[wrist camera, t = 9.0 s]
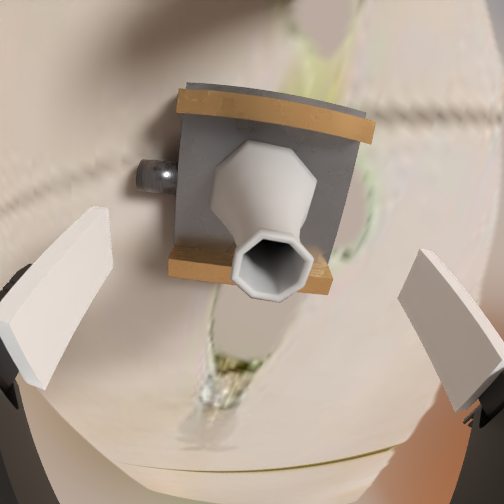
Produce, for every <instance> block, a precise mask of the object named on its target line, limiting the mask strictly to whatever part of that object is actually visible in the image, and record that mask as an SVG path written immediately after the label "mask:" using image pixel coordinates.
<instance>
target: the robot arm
mask: <svg viewBox="0 0 504 504" xmlns="http://www.w3.org/2000/svg"><path fill="white" fill-rule="evenodd" d="M113 267H114V266H113V257H112V248H111V238H110V226H109V212H108V208H105V207H94V206H92V207H91V208H89V209H88V210H87V211H86V212H85V213H84V214H83V215H82V216H81V217H80V218H78V219H77V220H76V221H75V222H74V223H73V224H72V225H71V226H70V227H69V228H68V229H67V230H66V231H65V232H64V233H63V234H62V235H61V236H60V237H59V238H58V239H57V240H56V241H55V242H54V243H53V244H52V245H51V246H50V247H49V248H48V249H47V250H46V251H45V252H44V253H43V254H42V255H41V256H40V257H39V258H38V259H37V260H36V261H35V262H34V263H33V264H28V265H27V266H25V267H24V268H22V269H21V270H19V271H18V272H17V273H16V274H15V275H14V276H13V277H12V278H11V279H10V282H9V283H7V284H6V285H5V286H4V287H3V290H1V291H0V504H60V503H59V501H58V500H57V497H56V495H55V493H54V491H53V489H52V487H51V484H50V482H49V480H48V478H47V475H46V473H45V471H44V468H43V466H42V463H41V460H40V458H39V455H38V453H37V450H36V447H35V444H34V441H33V438H32V435H31V432H30V428H29V425H28V422H27V418H26V415H25V411H24V407H23V403H22V399H21V395H20V391H19V386H18V384H17V382H16V380H15V377H16V376H17V374H18V372H20V374H21V375H22V377H23V379H24V380H25V382H26V383H28V384H30V385H33V386H35V387H38V388H40V389H43V390H46V388H47V385H48V383H49V381H50V379H51V377H52V375H53V373H54V371H55V369H56V367H57V365H58V363H59V361H60V359H61V357H62V355H63V353H64V351H65V349H66V347H67V345H68V343H69V341H70V340H71V338H72V336H73V334H74V332H75V330H76V328H77V327H78V325H79V323H80V321H81V320H82V318H83V316H84V314H85V313H86V311H87V309H88V307H89V306H90V304H91V302H92V301H93V299H94V297H95V296H96V294H97V292H98V291H99V289H100V287H101V286H102V284H103V282H104V281H105V279H106V278H107V276H108V275H109V273H110V271H111V270H112V268H113ZM398 300H399V302H400V303H401V305H402V307H403V309H404V310H405V312H406V314H407V316H408V318H409V319H410V321H411V323H412V325H413V327H414V329H415V330H416V332H417V334H418V336H419V338H420V340H421V342H422V344H423V346H424V348H425V350H426V352H427V354H428V356H429V358H430V360H431V362H432V364H433V366H434V368H435V370H436V372H437V374H438V376H439V378H440V380H441V382H442V385H443V387H444V389H445V391H446V393H447V396H448V398H449V400H450V402H451V405H452V407H453V409H454V411H455V412H458V411H462V410H466V409H468V408H469V407H470V406H471V405H472V404H473V403H474V402H475V401H476V400H477V399H479V401H480V403H481V404H480V405H479V406H478V407H477V408H476V409H475V410H474V411H473V412H472V413H471V414H470V415H469V416H467V418H465V420H464V422H463V423H464V424H465V423H467V422H468V421H469V420H470V419H473V420H472V421H471V422H470V423H469V424H468V426H469V427H472V429H471V434H470V438H469V443H468V447H467V451H466V455H465V459H464V462H463V465H462V469H461V472H460V476H459V479H458V482H457V485H456V488H455V491H454V493H453V496H452V499H451V502H450V504H504V342H503V340H502V339H501V338H500V336H499V335H498V333H497V332H496V331H495V329H494V327H493V326H492V325H491V323H490V322H489V320H488V319H487V318H486V316H485V315H484V314H483V312H482V311H481V309H480V308H479V307H478V306H477V304H476V303H475V302H474V300H473V299H472V298H471V296H470V295H469V294H468V293H467V291H466V290H465V289H464V288H463V286H462V285H461V284H460V283H459V282H458V280H457V279H456V278H455V277H454V276H453V274H452V273H451V272H450V271H449V270H448V268H447V267H446V266H445V265H444V264H443V263H442V262H441V260H440V259H439V258H438V257H437V256H436V255H435V254H434V252H433V251H430V250H424V249H419V252H418V254H417V257H416V259H415V261H414V264H413V266H412V268H411V270H410V273H409V275H408V277H407V279H406V281H405V283H404V286H403V288H402V290H401V292H400V294H399V296H398Z"/></svg>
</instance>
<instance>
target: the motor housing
mask: <svg viewBox="0 0 504 504" xmlns="http://www.w3.org/2000/svg"><path fill="white" fill-rule="evenodd" d="M176 113H183V119H182V128H181V139H180V150H179V162H173V161H160V160H146V159H143V160H141V162H140V164H139V166H138V170H137V175H136V185H137V189H138V190H139V191H144V192H154V193H165V194H175V195H176V211H175V238H174V247H173V249H172V251H171V254H170V256H169V258H168V276H170V277H177V278H184V279H192V280H199V281H207V282H215V283H223V284H231V285H236V284H235V283H234V282H232V281H231V280H230V273H231V268H232V263H233V258H234V253H235V249H236V247H237V246H236V243H235V240H234V237H233V235H232V234H231V233H230V231H229V230H228V229H227V228H226V226H225V225H224V224H223V222H222V221H221V220H220V219H219V218H218V217H217V216H216V215H215V214H214V213H213V211H212V210H211V209H210V208H209V204H210V198H211V192H212V186H213V180H214V175H215V169H216V167H217V166H218V165H219V164H220V163H222V162H223V161H224V160H225V159H226V158H227V157H228V156H229V155H231V154H232V153H233V152H234V151H235V150H236V149H237V148H239V147H240V146H241V145H242V144H243V143H244V142H246V141H247V140H253V141H258V142H263V143H268V144H272V145H277V146H281V147H286V148H290V149H292V150H293V152H294V153H295V154H296V155H297V156H298V158H299V159H300V160H301V161H302V162H303V164H304V165H305V166H306V167H307V168H308V170H309V171H310V172H311V173H312V175H313V176H314V177H315V178H316V180H317V183H316V187H315V190H314V194H313V197H312V201H311V204H310V208H309V211H308V214H307V218H306V220H305V222H304V224H303V225H302V227H301V229H300V236H299V239H300V242H301V244H302V245H303V246H304V247H305V248H306V250H307V251H308V252H309V253H310V254H311V255H312V256H313V258H314V261H313V264H312V267H311V270H310V272H309V275H308V278H307V281H306V284H305V286H304V287H303V288H301V289H300V290H298V291H297V292H302V293H312V294H322V295H328V293H329V290H330V287H331V284H332V281H333V277H332V275H331V272H330V270H329V267H328V262H329V258H330V255H331V252H332V248H333V245H334V241H335V238H336V235H337V231H338V227H339V224H340V220H341V217H342V213H343V209H344V205H345V202H346V198H347V193H348V190H349V186H350V182H351V178H352V174H353V170H354V166H355V162H356V157H357V153H358V149H359V144H360V142H364V143H368V144H371V143H372V138H373V134H374V129H375V124H376V122H374V121H371V120H367V119H365V116H366V112H362V111H359V110H355V109H351V108H348V107H344V106H340V105H336V104H332V103H328V102H323V101H319V100H315V99H310V98H305V97H300V96H295V95H290V94H284V93H278V92H272V91H266V90H259V89H252V88H244V87H236V86H227V85H216V84H204V83H188V82H187V85H186V89H179V92H178V100H177V109H176Z"/></svg>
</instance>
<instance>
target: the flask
mask: <svg viewBox="0 0 504 504" xmlns="http://www.w3.org/2000/svg"><path fill="white" fill-rule="evenodd" d="M316 183H317V180H316V178H315V177H314V176H313V175H312V173H311V172H310V171H309V170H308V168H307V167H306V166H305V165H304V164H303V162H302V161H301V160H300V159H299V158H298V156H297V155H296V154H295V153H294V152H293V150H292V149H290V148H286V147H281V146H277V145H272V144H268V143H263V142H258V141H253V140H247V141H246V142H244V143H243V144H242V145H241V146H240V147H239V148H237V149H236V150H235V151H234V152H233V153H232V154H231V155H229V156H228V157H227V158H226V159H225V160H224V161H223V162H222V163H220V164H219V165H218V166H217V167H216V169H215V175H214V180H213V186H212V192H211V198H210V204H209V208H210V209H211V210H212V211H213V213H214V214H215V215H216V216H217V217H218V218H219V219H220V220H221V221H222V222H223V224H224V225H225V226H226V228H227V229H228V230H229V231H230V233H231V234H232V235H233V237H234V240H235V243H236V246H237V247H236V249H235V253H234V258H233V263H232V268H231V273H230V280H231V281H232V282H234V283H235V284H236V285H237V286H238V287H239V288H240V289H241V290H242V291H244V292H245V293H246V294H247V295H248V296H249V297H250V298H254V299H260V300H266V301H274V302H279V303H280V302H282V301H284V300H285V299H286V298H288V297H289V296H291V295H293V294H294V293H295V292H297V291H298V290H300V289H301V288H303V287H304V286H305V284H306V281H307V278H308V275H309V272H310V270H311V267H312V264H313V261H314V258H313V256H312V255H311V254H310V253H309V252H308V251H307V250H306V248H305V247H304V246H303V245H302V244H301V242H300V239H299V236H300V229H301V227H302V225H303V224H304V222H305V220H306V218H307V214H308V211H309V208H310V204H311V201H312V197H313V194H314V190H315V187H316Z"/></svg>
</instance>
